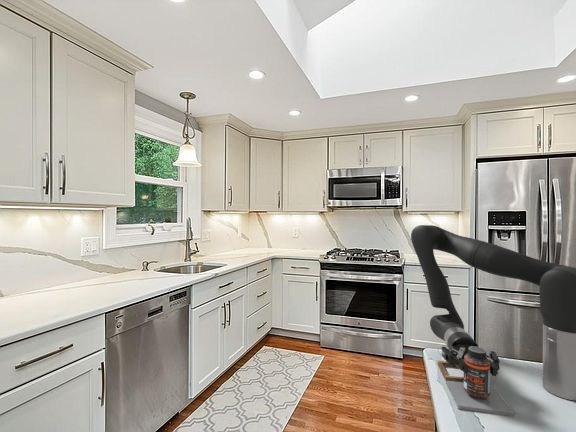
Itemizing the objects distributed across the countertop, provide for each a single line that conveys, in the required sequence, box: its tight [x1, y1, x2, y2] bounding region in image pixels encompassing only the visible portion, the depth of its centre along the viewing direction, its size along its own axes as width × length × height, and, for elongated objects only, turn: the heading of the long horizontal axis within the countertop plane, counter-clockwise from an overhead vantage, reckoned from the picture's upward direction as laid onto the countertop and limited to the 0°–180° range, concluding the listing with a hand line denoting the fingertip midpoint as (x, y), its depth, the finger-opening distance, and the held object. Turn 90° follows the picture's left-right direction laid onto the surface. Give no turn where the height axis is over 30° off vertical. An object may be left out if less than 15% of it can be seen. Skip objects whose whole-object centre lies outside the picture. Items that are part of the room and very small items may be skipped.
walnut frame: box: [436, 360, 464, 382], centre depth 94 cm, size 10×10×1 cm
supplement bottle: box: [463, 346, 491, 398], centre depth 82 cm, size 6×6×11 cm
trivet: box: [445, 381, 515, 417], centre depth 82 cm, size 12×12×1 cm
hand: (480, 370), depth 80 cm, fingers closed on supplement bottle, 6 cm apart
